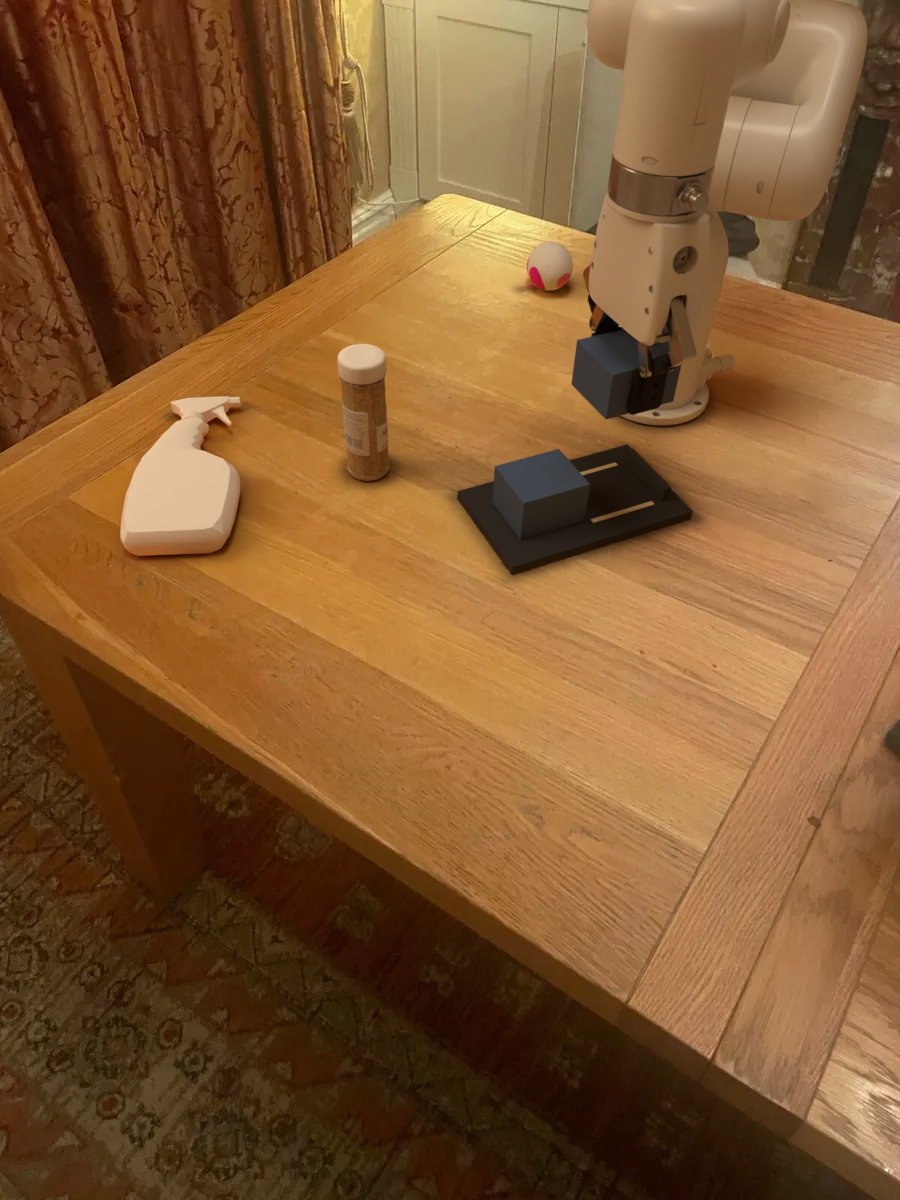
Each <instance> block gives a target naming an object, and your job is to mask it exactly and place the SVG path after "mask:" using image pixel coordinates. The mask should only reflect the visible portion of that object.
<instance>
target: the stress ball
mask: <svg viewBox="0 0 900 1200" xmlns="http://www.w3.org/2000/svg"><path fill="white" fill-rule="evenodd" d="M573 270H574V261H573V257H572V254H571V253H570V251H569V250H568V248H567V247H565V246H564V245H563V244H561V243H559V242H556V241H545V242H542V243H540V244H538V245H537V246H536V247H535V246H533V249H532V250H531V252H530V253H529V255H528V257H527V262H526V272H527V275H528V278H529V280H530V281H531V283H532V284H533V285H528V286H522V287H521V288H522V289H523V288H524V289H525V288H538V289H540V290H543V291H546V292H547V291H548V292H549V291H550V292H551V291H555V290H558V289H560V288H563V287H564V286H566V287H567V288H568V281H570V279H571V277H572V274H573Z"/></svg>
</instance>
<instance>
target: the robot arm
mask: <svg viewBox="0 0 900 1200" xmlns="http://www.w3.org/2000/svg"><path fill="white" fill-rule="evenodd" d="M587 9H588V10H587V18H586V32H587V40H588V45H589V47H590V49H591V51H592V53H593V55H594V57H595V58H596V59H597V60H598V61H599V62H600V63H601V64H603V65H604V66H606V67H608V68H612V69H614V70H620V71H623V74H622V81H621V88H620V89H621V90H620V97H619V104H618V112H617V119H616V126H615V132H614V141H613V148H612V153H611V160H610V168H609V174H608V180H607V181H608V182H607V190H606V194H605V197H604V200H603V203H602V207H601V210H600V214H599V219H598V222H597V226H596V231H595V235H594V236H595V237H594V242H593V246H592V253H591V258H590V264H589V265H587V267H585V268H584V270H583V272H582V273H583V274H582V276H583V281H584V284H585V288H586V291H587V293H588V295H587V302H588V306H589V310H590V313H591V316H590V318H589V321H588V326H589V329H590V330H591V331H592V333H591V335H590V337H592V336H596V335H601V334H605V333H609V332H613V331H618V330H622V329H624V330H625V331H627V332H628V333H629V334H630V335H631V336H633V337H634V338H635V339H636V340H638V358H639V371H637V372H634V373H633V378H632V384H631V389H630V394H629V400H628V405H627V411H628V412H629V414H625V415H621V416H620V417H621V418H623V419H625V420H629V421H632V422H635V423H639V424H643V425H650V426H672V425H673V426H674V425H679V424H683V423H687V422H689V421H692V420H694V419H695V418H697V417H699V416H700V415H702V413H703V412H704V411H705V410H706V408H707V406H708V402H709V397H710V390H709V387H708V385H707V383H706V381H707V380H709V379H711V378H712V377H713V376H714V375H715V374H723V373H726V372H730V371H733V370H734V368H735V365H736V361H735V358H734V355H732V354H731V353H726V354H722V355H718V356H715V357H713V358H712V356H713V354H712V352H713V351H712V349H711V348H709V347H708V344H709V341H710V340H709V339H710V335H711V332H712V327H713V324H714V320H715V315H716V311H717V307H718V302H719V299H720V295H721V291H722V286H723V283H724V280H725V279H724V278H725V275H726V271H727V268H728V267H727V266H728V262H729V255H730V249H729V239H728V236H727V232H726V229H725V227H724V225H723V222H722V219H721V217H720V216H719V213H718V212H720V213H724V212H726V213H731V214H736V215H742V216H749V217H754V218H760V219H765V220H773V221H779V222H797V221H800V220H803V219H806V218H807V217H809V216H810V215H811V214H812V213H813V212H814V211H815V210H816V209H817V207H818V206H819V205H820V203H821V201H822V199H823V197H824V195H825V193H826V191H827V188H828V186H829V183H830V180H831V177H832V173H833V171H834V167H835V164H836V161H837V157H838V154H839V150H840V148H841V143H842V140H843V136H844V133H845V129H846V126H847V123H848V119H849V116H850V114H851V113H850V112H851V110H852V107H853V102H854V99H855V95H856V92H857V89H858V85H859V81H860V77H861V74H862V71H863V67H864V66H863V65H864V62H865V58H866V52H867V46H868V26H867V21H866V19H865V18H866V17H865V15H864V14H863V12H862V11H861V10H860V9H859V8H858V7H856V6H854V5H852V4H850V3H848V2H844V1H840V0H589V4H588V8H587ZM660 343H661V355H660V356H658V357H656V358H654V359H652V345H656V344H660ZM679 366H681V369H680V374H679V378H678V383H677V387H676V391H675V396H674V400H673V402H670V403H666V404H662V405H661V403H662V398H663V393H664V389H665V384H666V379H667V375H668V372H670V371H673V370H674V369H675V368H677V367H679Z"/></svg>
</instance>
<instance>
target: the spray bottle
mask: <svg viewBox="0 0 900 1200" xmlns="http://www.w3.org/2000/svg"><path fill="white" fill-rule="evenodd" d="M170 404H171V410H172V413H174V414H176V415H178V416H179V417H180V419H179V420H176V421H175V422H173V424H172V425H170V427H169V428H168V429H167V430H166V431H165V432H164V433H163V434H161V436H160V437H159V438H158V439H157V440H156V442H155V443H154V444H153V445H152V446H151V447H150V448H149V449H148V451H147V452H146V453H145V454H144V455H142V457H141V459H140V461H139V463H138V464H137V466H136V468H135V470H134V472H133V474H132V477H131V479H130V482H129V486H128V488H127V490H126V493H125V497H124V502H123V508H122V512H121V517H120V531H119V533H120V534H119V537H120V538H119V539H120V541H121V543H122V545H123V548H125V549H126V551H128V552H129V553H130V554H132V555H135V556H136V557H147V556H149V557H150V556H171V555H173V556H174V555H197V554H199V555H201V554H212V553H215V552H217V551H219V550H220V549H222V548H223V547H224V545H225V543H226V542H227V540H228V539H229V537H230V535H231V532H232V529H233V526H234V523H235V520H236V517H237V512H238V508H239V507H238V506H239V501H240V497H241V491H242V490H241V477H240V474H239V472H238V471H237V470H236V468H235V467H234V466H233V465H232V464H231V463H230V462H228V461H227V460H225V459H224V458H223V457H221V456H217V455H215V454H213V453H210V452H208V451H205V450H203V449H202V447H201V446H202V444H203V443H204V437H206V435H207V434H208V433H209V432H210V425H209V424H208V423H209V422H210V421H212V420H214V419H216V418H218V419H219V420H220V421H222V422H223V423H224V424H225V425H227V426H228V427H232V426H233V423H232V421H231V420H230V419H229V417H228V415H227V414H226V413H228V412H229V410H230V408H236V407H242V402H241V397H240V396H229V395H225V396H199V397H198V396H197V397H186V398H179V399H177V400H173V401H170Z"/></svg>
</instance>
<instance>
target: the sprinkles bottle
mask: <svg viewBox="0 0 900 1200" xmlns="http://www.w3.org/2000/svg"><path fill="white" fill-rule="evenodd" d="M337 374H338V376H339V379H340V387H341V406H342V420H343V431H344V444H345V446H346V456H347V464H346V471H347V472H348V474H349V475H350V476H351V477H353V478H354V479H356V480H360V481H363V482H370V481H371V482H372V481H377V480H379V479H382V478H383V477H385V476H386V475H387V474H388V473H389V472H390V468H391V462H390V458H389V457H390V455H389V430H388V412H387V410H388V409H387V399H386V380H385V379H386V374H387V357H386V354H385V351H384V350H383V349H382V348H380V347H379V346H377V345H374V344H369V343H355V344H351V345H348V346H346V347H344V348H343V349H341V350H340V351H339V353H338V354H337Z"/></svg>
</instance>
